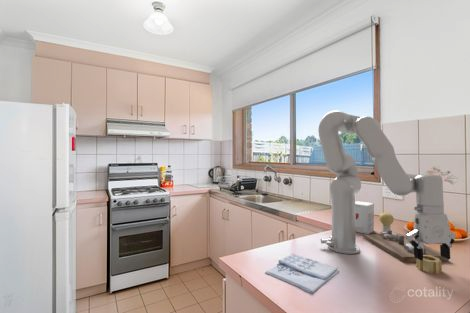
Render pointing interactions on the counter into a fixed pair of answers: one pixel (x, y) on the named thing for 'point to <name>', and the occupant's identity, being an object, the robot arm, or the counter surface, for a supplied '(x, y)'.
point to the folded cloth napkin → (312, 271)
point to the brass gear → (429, 264)
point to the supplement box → (364, 217)
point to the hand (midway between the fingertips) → (432, 258)
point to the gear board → (399, 246)
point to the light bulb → (386, 221)
